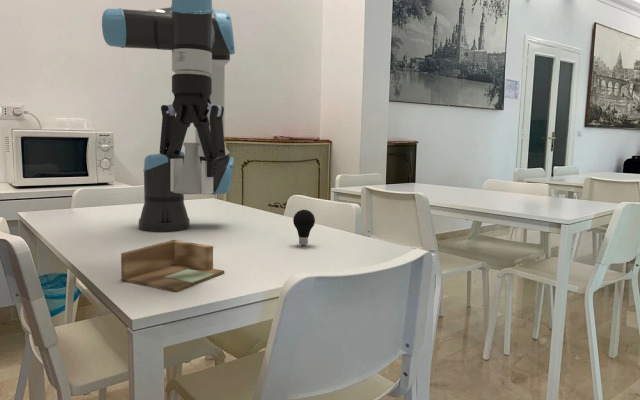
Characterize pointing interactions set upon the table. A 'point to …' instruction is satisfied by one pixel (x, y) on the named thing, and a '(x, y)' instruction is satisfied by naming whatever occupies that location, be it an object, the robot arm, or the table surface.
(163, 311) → the table surface
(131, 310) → the table surface
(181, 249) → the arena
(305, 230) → the light bulb
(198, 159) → the flask
